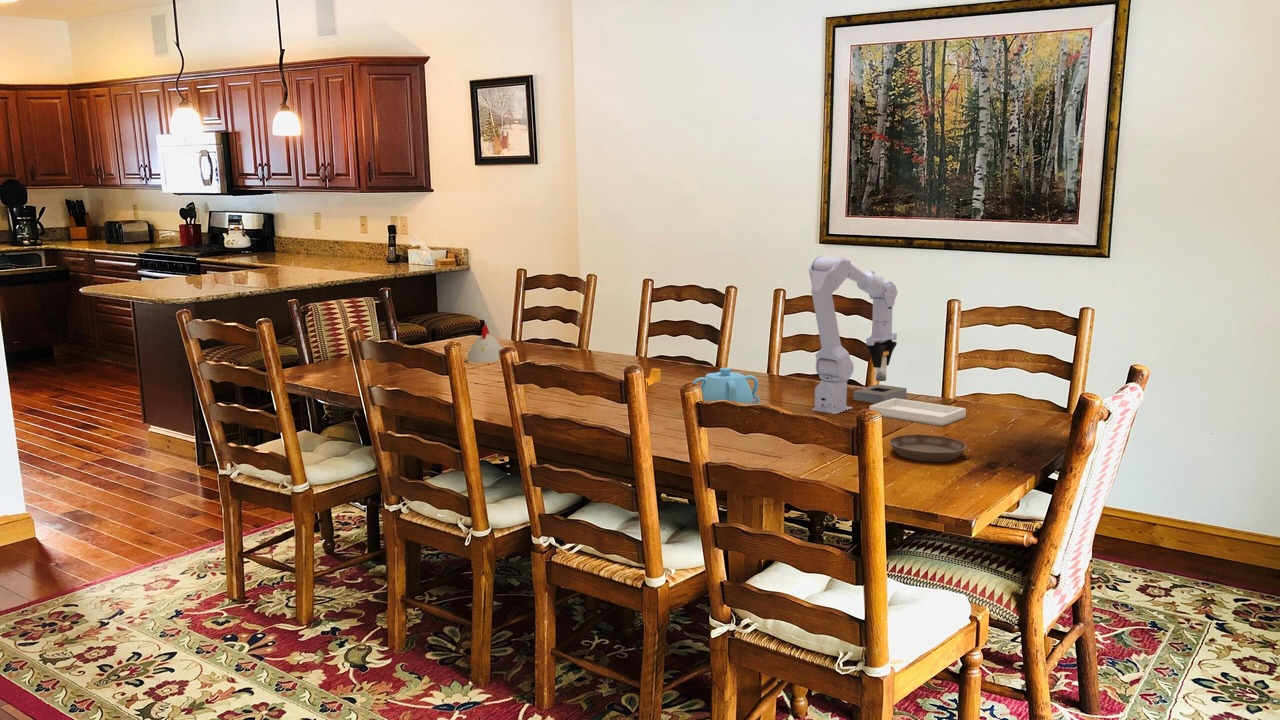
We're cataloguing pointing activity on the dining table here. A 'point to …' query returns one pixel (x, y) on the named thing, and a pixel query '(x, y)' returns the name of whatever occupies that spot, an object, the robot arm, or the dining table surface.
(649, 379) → the pipe clamp
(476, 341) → the kitchen timer
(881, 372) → the gold capped clear cylinder
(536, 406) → the dining table surface
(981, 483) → the dining table surface
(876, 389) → the block
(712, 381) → the decorative pot
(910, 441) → the plant saucer
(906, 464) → the dining table surface
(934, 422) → the tray
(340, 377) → the dining table surface
